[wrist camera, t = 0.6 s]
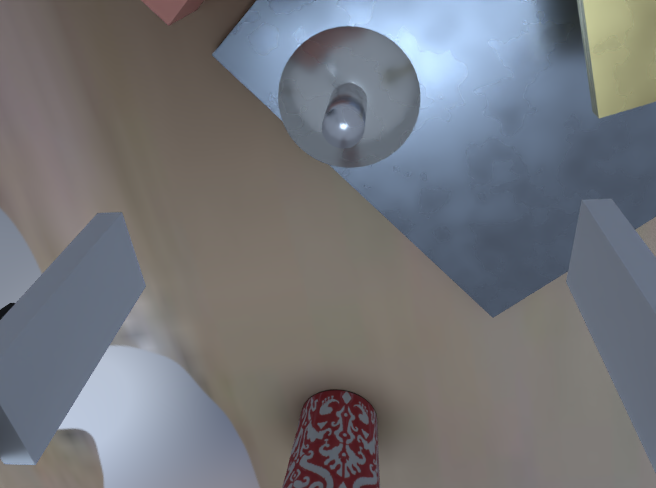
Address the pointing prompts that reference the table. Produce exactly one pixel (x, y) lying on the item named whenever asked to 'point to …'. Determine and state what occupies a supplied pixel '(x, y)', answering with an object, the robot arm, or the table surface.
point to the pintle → (345, 116)
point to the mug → (335, 444)
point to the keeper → (619, 53)
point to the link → (172, 8)
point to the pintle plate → (456, 125)
